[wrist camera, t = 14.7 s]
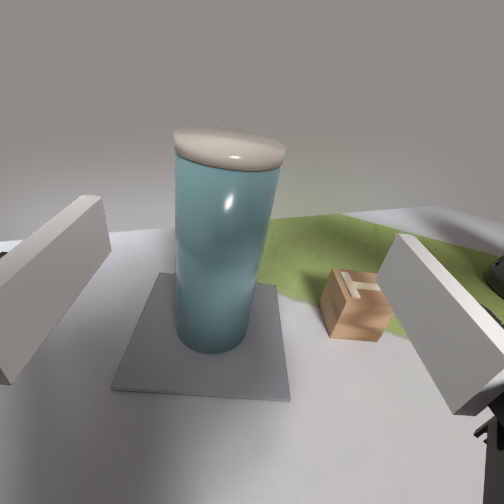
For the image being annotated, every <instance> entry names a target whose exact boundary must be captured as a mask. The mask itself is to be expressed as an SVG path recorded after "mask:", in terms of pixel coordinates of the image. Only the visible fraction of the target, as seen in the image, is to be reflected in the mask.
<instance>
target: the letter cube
mask: <svg viewBox="0 0 504 504" xmlns="http://www.w3.org/2000/svg"><path fill="white" fill-rule="evenodd" d="M376 275H377V273H368V272H360V271H351V270H342V269H333V268H332V270H331V272H330V275H329V277H328V280H327V282H326V285H325V288H324V290H323V293H322V295H321V298H320V300H319V305H320V308H321V311H322V315H323V318H324V321H325V324H326V327H327V330H328V334H329V337H330V338H336V339H348V340H359V341H371V342H377V341H378V340H379V338H380V337H381V335H382V333H383V332H384V330H385V328H386V327H387V325H388V324H389V322H390V320H391V319H392V317H393V316H394V312H393V310H392V308H391V307H390V305H389V303H388V301H387V300H386V298H385V296H384V295H383V293H382V291H381V289H380V288H379V286H378V284H377V282H376V281H375V277H376Z"/></svg>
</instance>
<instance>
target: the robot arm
mask: <svg viewBox="0 0 504 504" xmlns="http://www.w3.org/2000/svg"><path fill="white" fill-rule="evenodd" d="M110 252H111V246H110V240H109V235H108V229H107V224H106V218H105V214H104V207H103V202H102V197H97V196H89V195H82V196H80V197H79V198H78V199H77V200H75V201H74V202H73V203H71V204H70V205H69V206H68V207H66V208H65V209H64V210H62V211H61V212H60V213H59V214H57V215H56V216H55V217H53V218H52V219H51V220H50V221H48V222H47V223H46V224H44V225H43V226H42V227H41V228H39V229H38V230H37V231H35V232H34V233H33V234H32V235H30V236H29V237H28V238H26V239H25V240H24V241H22V242H21V243H20V244H19V245H17V246H16V247H15V248H13V249H12V250H11V251H10V252H1V253H0V384H3V385H12V383H13V382H14V381H15V379H16V378H17V377H18V375H19V374H20V373H21V371H22V370H23V369H24V367H25V366H26V365H27V363H28V362H29V361H30V359H31V358H32V357H33V355H34V354H35V353H36V351H37V350H38V349H39V347H40V346H41V345H42V343H43V342H44V341H45V339H46V338H47V337H48V335H49V334H50V333H51V331H52V330H53V329H54V327H55V326H56V324H57V323H58V322H59V320H60V319H61V318H62V316H63V315H64V314H65V312H66V311H67V310H68V308H69V307H70V306H71V304H72V303H73V302H74V300H75V299H76V298H77V296H78V295H79V294H80V292H81V291H82V290H83V288H84V287H85V286H86V284H87V283H88V282H89V280H90V279H91V278H92V276H93V275H94V274H95V272H96V271H97V270H98V268H99V267H100V266H101V264H102V263H103V261H104V260H105V259H106V257H107V256H108V255H109V253H110ZM484 278H485V280H486V282H487V283H488V284H489V286H490V287H491V288H492V289H493V290H494V291H495V292H497V293H498V294H499V295H500V296H502V297H503V298H504V256H502V257H501V258H499V259H498V260H496V261H494V262H493V263H492V264H491V265H490V266H489V268H488V269H487V270H486V271H485V273H484ZM375 281H376V282H377V284H378V286H379V288H380V289H381V291H382V293H383V295H384V296H385V298H386V300H387V301H388V303H389V305H390V307H391V308H392V310H393V312H394V314H395V315H396V317H397V319H398V320H399V322H400V324H401V326H402V327H403V329H404V331H405V333H406V334H407V336H408V338H409V339H410V341H411V343H412V345H413V346H414V348H415V350H416V351H417V353H418V355H419V357H420V358H421V360H422V362H423V364H424V365H425V367H426V369H427V370H428V372H429V374H430V376H431V377H432V379H433V381H434V383H435V384H436V386H437V388H438V389H439V391H440V393H441V395H442V396H443V398H444V400H445V402H446V403H447V405H448V407H449V408H450V410H451V412H452V414H453V415H466V416H476V415H477V414H479V413H480V412H481V411H482V410H484V409H485V408H486V407H487V406H488V407H489V408H490V409H491V411H492V412H493V414H494V415H495V416H494V417H492V418H491V419H490V420H488V421H487V422H486V423H485V424H483V425H482V426H481V427H479V428H478V429H477V430H476V431H475V433H474V436H476V437H477V438H478V437H479V436H481V435H482V434H483V433H487V439H485V440H484V441H483V442H484V443H486V444H487V449H486V464H485V480H484V495H483V504H504V325H502V324H501V321H500V320H499V319H498V318H497V317H496V316H495V315H494V314H493V313H492V312H491V311H490V310H489V309H487V308H486V307H484V306H483V305H482V304H480V303H479V302H477V301H476V300H475V299H474V298H473V297H472V296H471V295H470V294H469V293H468V292H467V291H466V290H465V289H464V287H463V286H462V285H461V284H460V283H459V282H458V281H457V280H456V279H455V278H454V277H453V276H452V275H451V274H450V273H449V272H448V271H447V270H446V269H445V268H444V267H443V266H442V264H441V263H440V262H439V261H438V260H437V259H436V258H435V257H434V256H433V255H432V254H431V253H430V252H429V251H428V250H427V249H426V248H425V247H424V246H423V245H422V244H421V243H420V241H419V240H418V239H417V238H416V237H415V236H414V235H408V234H400V233H398V234H397V235H396V237H395V239H394V241H393V243H392V245H391V247H390V249H389V251H388V253H387V255H386V257H385V259H384V261H383V263H382V265H381V267H380V269H379V271H378V273H377V275H376V277H375Z"/></svg>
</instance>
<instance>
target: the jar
mask: <svg viewBox="0 0 504 504" xmlns="http://www.w3.org/2000/svg"><path fill="white" fill-rule="evenodd" d="M174 150H175V183H176V185H175V197H176V198H175V202H176V203H175V205H176V207H175V216H176V217H175V219H176V223H175V225H176V332H177V335H178V337H179V339H180V340H181V342H182V343H183V344H184V345H185V346H187V347H188V348H190V349H192V350H193V351H196V352H199V353H203V354H221V353H225V352H228V351H230V350H232V349H234V348H235V347H237V346H238V345H239V344H240V343H241V342H242V341H243V339H244V337H245V335H246V332H247V328H248V323H249V318H250V313H251V308H252V303H253V298H254V294H255V289H256V284H257V279H258V274H259V269H260V264H261V260H262V255H263V250H264V245H265V240H266V235H267V230H268V226H269V221H270V216H271V210H272V206H273V201H274V196H275V192H276V186H277V182H278V177H279V172H280V167H281V165H282V164H283V159H284V155H285V150H286V149H285V147H284V145H282V144H281V143H279V142H277V141H275V140H273V139H270V138H268V137H265V136H261V135H258V134H254V133H249V132H245V131H240V130H234V129H228V128H219V127H204V126H193V127H184V128H179V129H177V130H175V131H174Z"/></svg>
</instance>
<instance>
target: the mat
mask: <svg viewBox="0 0 504 504" xmlns="http://www.w3.org/2000/svg"><path fill="white" fill-rule="evenodd" d="M111 390H123V391H138V392H153V393H168V394H183V395H198V396H212V397H227V398H242V399H257V400H272V401H287V402H289V401H290V392H289V384H288V376H287V369H286V361H285V353H284V346H283V338H282V330H281V322H280V315H279V307H278V299H277V292H276V285H269V284H260V283H257V284H256V289H255V294H254V298H253V303H252V308H251V313H250V318H249V323H248V328H247V332H246V335H245V337H244V339H243V341H242V342H241V343H240V344H239V345H238V346H237V347H235V348H234V349H232V350H230V351H228V352H225V353H221V354H203V353H199V352H196V351H193V350H192V349H190V348H188V347H187V346H185V345H184V344H183V343H182V342H181V340H180V339H179V337H178V335H177V332H176V274H167V273H159V275H158V278H157V280H156V282H155V284H154V287H153V289H152V291H151V294H150V296H149V298H148V301H147V303H146V305H145V308H144V310H143V312H142V315H141V317H140V319H139V322H138V324H137V326H136V329H135V331H134V333H133V336H132V338H131V340H130V343H129V345H128V347H127V350H126V352H125V354H124V357H123V359H122V361H121V364H120V366H119V368H118V371H117V373H116V375H115V378H114V380H113V382H112V385H111Z"/></svg>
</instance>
